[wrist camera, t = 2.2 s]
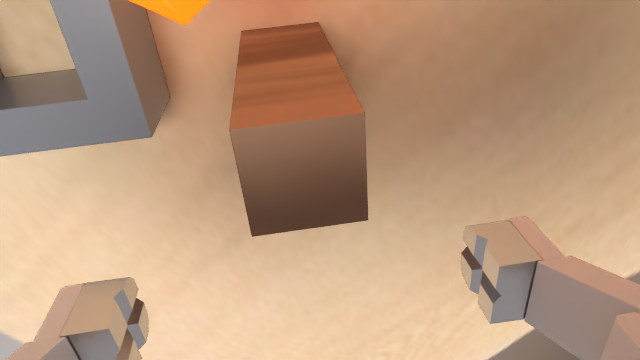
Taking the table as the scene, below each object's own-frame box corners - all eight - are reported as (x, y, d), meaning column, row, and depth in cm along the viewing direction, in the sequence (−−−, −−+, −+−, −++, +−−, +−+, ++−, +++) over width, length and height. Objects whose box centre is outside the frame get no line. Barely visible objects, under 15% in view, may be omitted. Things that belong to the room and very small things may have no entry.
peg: (241, 31, 23) (229, 129, 13) (317, 22, 23) (365, 112, 13) (253, 103, 25) (251, 236, 15) (323, 94, 25) (368, 220, 15)
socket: (-136, -100, 19) (-252, -101, 14) (108, -123, 19) (66, -131, 15) (-18, 119, 24) (-78, 166, 20) (170, 97, 24) (151, 137, 20)
